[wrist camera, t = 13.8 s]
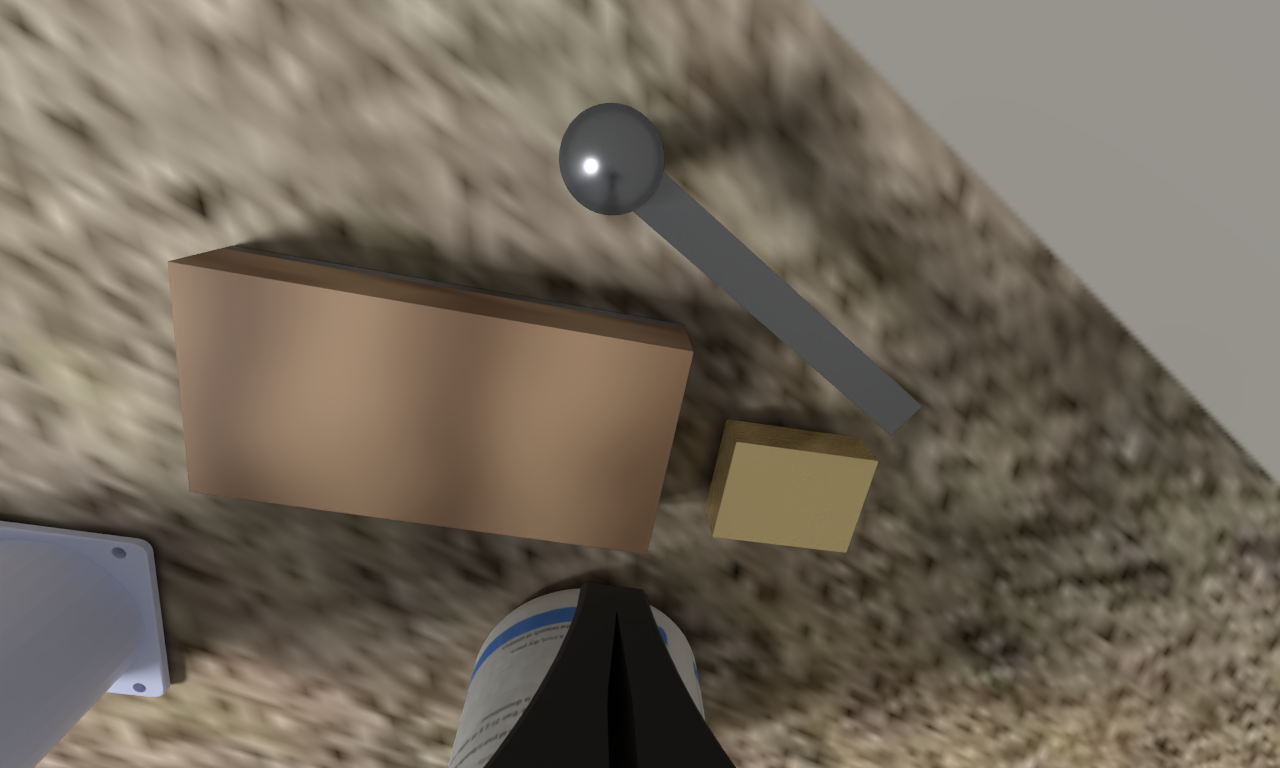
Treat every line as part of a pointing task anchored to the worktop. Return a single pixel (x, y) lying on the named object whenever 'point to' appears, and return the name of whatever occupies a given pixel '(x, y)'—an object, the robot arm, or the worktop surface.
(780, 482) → the yellow rectangular block
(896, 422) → the lever
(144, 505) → the worktop surface
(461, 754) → the supplement tub
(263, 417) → the body
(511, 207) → the worktop surface
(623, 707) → the robot arm
